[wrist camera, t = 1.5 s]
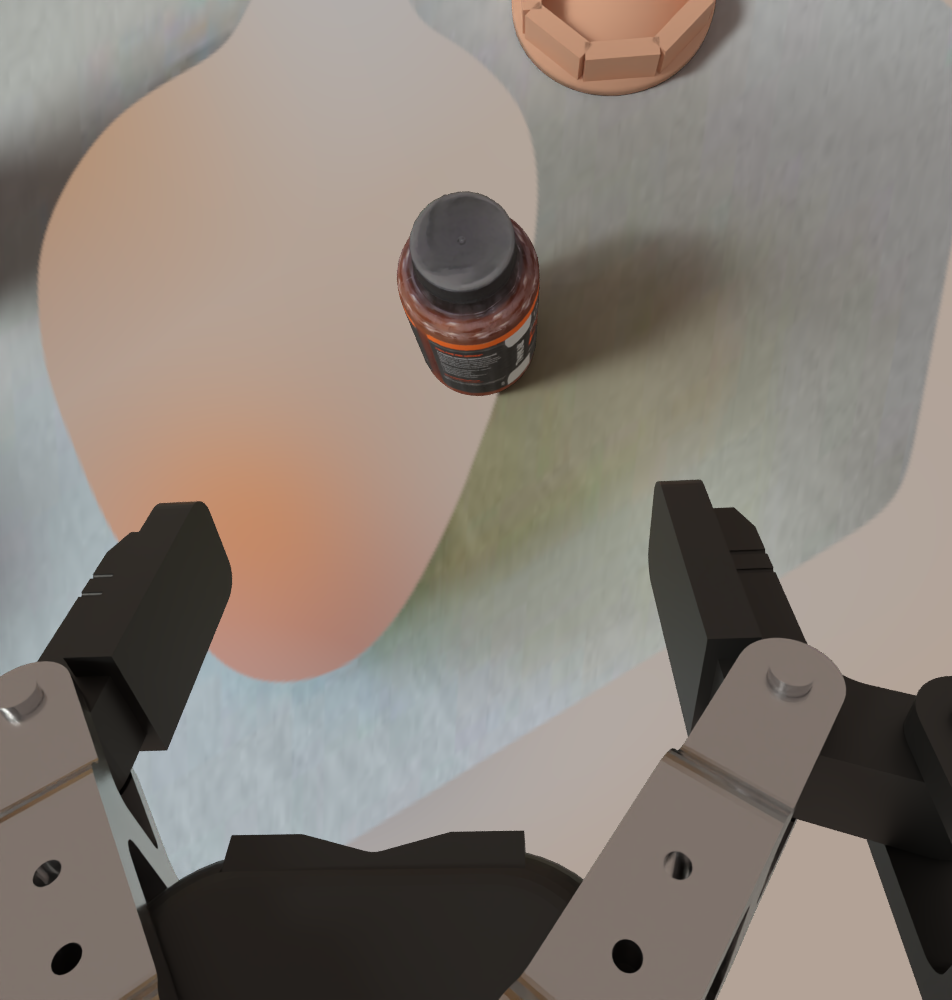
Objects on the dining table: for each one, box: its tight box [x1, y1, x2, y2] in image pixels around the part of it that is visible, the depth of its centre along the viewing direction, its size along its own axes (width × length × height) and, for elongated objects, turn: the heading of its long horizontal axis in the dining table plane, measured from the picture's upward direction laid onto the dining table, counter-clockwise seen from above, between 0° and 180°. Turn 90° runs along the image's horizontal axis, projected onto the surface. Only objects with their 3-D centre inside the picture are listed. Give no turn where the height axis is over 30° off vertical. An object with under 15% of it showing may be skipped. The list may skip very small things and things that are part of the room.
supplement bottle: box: [397, 192, 539, 396], centre depth 32 cm, size 6×6×11 cm
